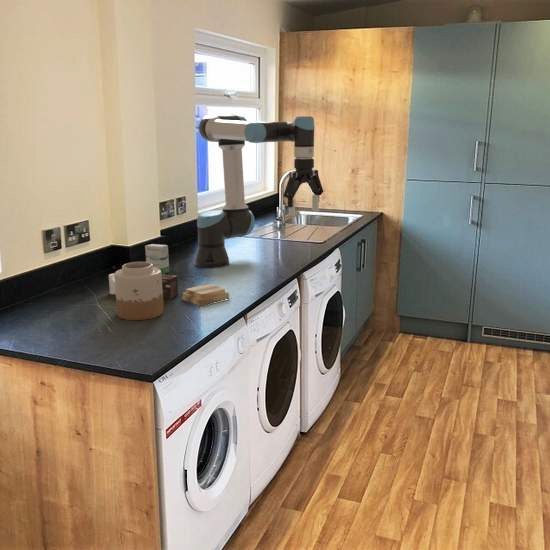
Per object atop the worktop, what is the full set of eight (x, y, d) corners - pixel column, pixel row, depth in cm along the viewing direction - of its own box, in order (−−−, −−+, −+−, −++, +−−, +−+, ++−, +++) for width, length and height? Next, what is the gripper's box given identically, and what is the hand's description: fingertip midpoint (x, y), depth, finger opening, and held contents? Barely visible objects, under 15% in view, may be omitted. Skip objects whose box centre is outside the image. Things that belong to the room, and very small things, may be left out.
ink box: (170, 272, 258) (168, 244, 255) (163, 274, 254) (161, 247, 251) (153, 270, 262) (151, 243, 259) (146, 272, 257) (144, 245, 254)
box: (155, 297, 222) (154, 278, 220) (164, 293, 228) (163, 274, 226) (170, 299, 220) (169, 279, 218) (178, 294, 226) (177, 275, 224)
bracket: (126, 296, 225) (124, 276, 223) (110, 294, 227) (108, 275, 225) (146, 287, 236) (144, 268, 234) (130, 285, 239) (129, 267, 237)
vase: (124, 306, 212) (120, 259, 208) (167, 306, 211) (165, 259, 207) (111, 320, 197) (107, 270, 193) (158, 320, 197) (155, 270, 192)
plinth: (182, 299, 219) (181, 288, 218) (208, 292, 227) (208, 282, 226) (202, 306, 211) (201, 295, 210) (229, 299, 219) (228, 288, 218)
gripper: (288, 160, 221) (288, 218, 226) (332, 156, 238) (331, 210, 243) (273, 159, 226) (274, 216, 231) (318, 155, 243) (317, 208, 248)
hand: (303, 213), depth 237 cm, fingers open, 13 cm apart
